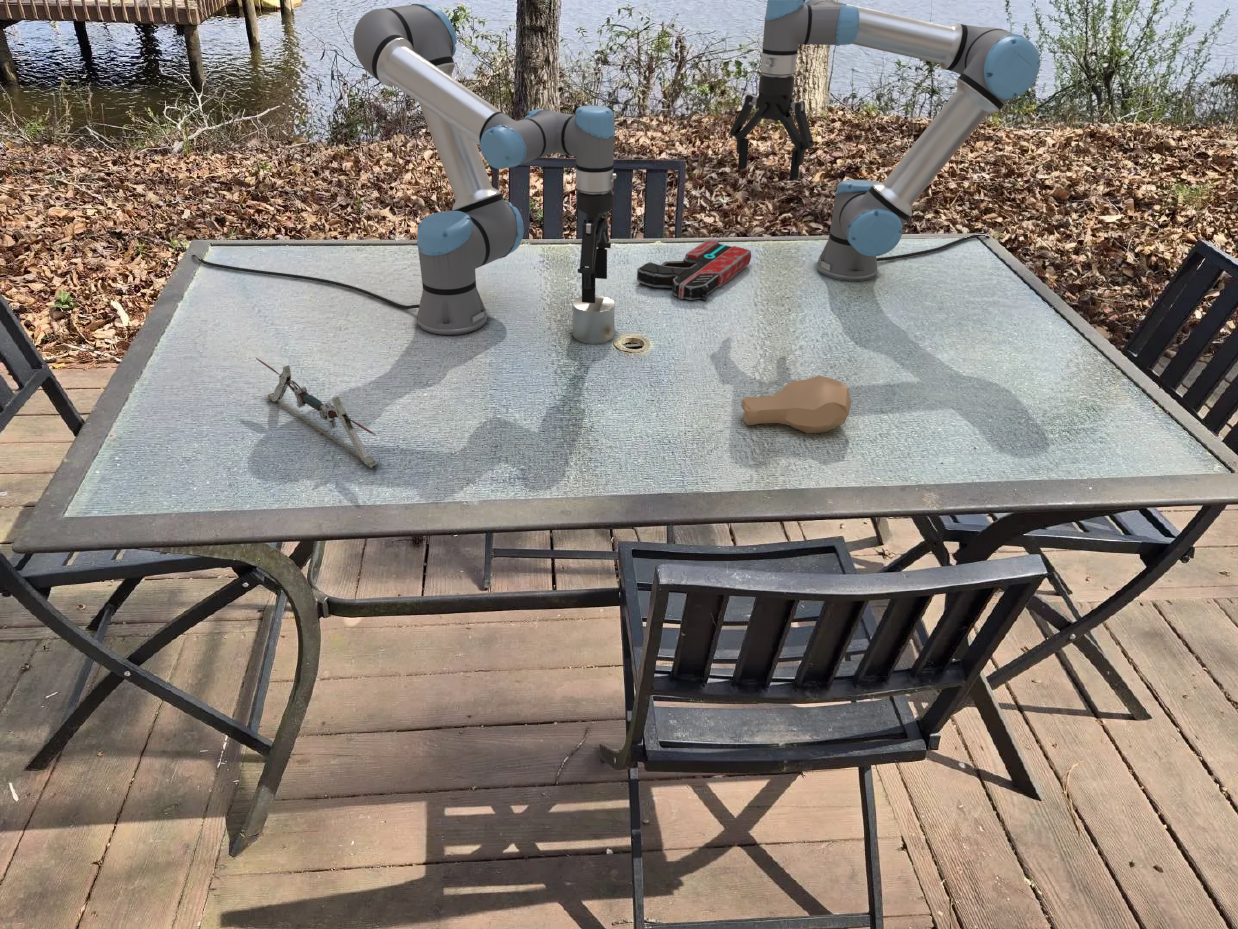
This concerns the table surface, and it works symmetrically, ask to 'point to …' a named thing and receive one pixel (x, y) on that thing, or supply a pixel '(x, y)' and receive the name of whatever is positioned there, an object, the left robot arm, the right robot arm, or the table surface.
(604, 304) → the canister
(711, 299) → the table surface
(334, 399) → the bow
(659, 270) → the gun
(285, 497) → the table surface
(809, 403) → the squash
